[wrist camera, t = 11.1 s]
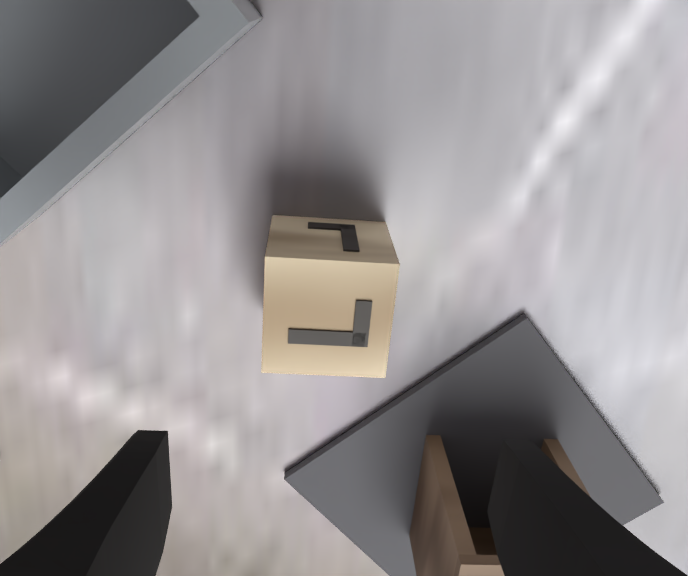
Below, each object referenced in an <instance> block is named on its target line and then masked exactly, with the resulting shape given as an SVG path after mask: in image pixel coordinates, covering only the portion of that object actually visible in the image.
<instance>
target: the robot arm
mask: <svg viewBox="0 0 688 576" xmlns="http://www.w3.org/2000/svg"><path fill="white" fill-rule="evenodd" d="M171 509H172V496H171V479H170V462H169V445H168V431H147V430H138V431H137V432H136V433H134V434H133V435H132V436H131V438H130V439H129V440H128V441H127V442H126V443H125V444H124V446H123V447H122V448H121V449H120V450H119V451H118V452H117V454H116V455H115V456H114V457H113V458H112V459H111V460H110V461H109V463H108V464H107V465H106V466H105V467H104V468H103V469H102V470H101V471H100V472H99V473H98V475H97V476H96V477H95V478H94V479H93V480H92V481H91V482H90V483H89V484H88V485H87V486H86V487H85V488H84V489H83V490H82V491H81V492H80V493H79V494H78V495H77V496H76V497H75V498H74V499H73V500H72V501H71V502H70V503H69V504H68V505H67V506H66V507H65V508H64V509H63V510H62V511H61V512H60V513H59V514H58V515H57V516H55V517H54V518H53V519H52V520H51V521H50V522H49V523H48V524H47V525H46V526H45V527H44V528H43V529H42V530H40V531H39V532H38V533H37V534H36V535H35V536H34V537H32V538H31V539H30V540H29V541H28V542H27V543H26V544H24V545H23V546H22V547H21V548H20V549H18V550H17V551H16V552H15V553H13V554H12V555H11V556H10V557H8V558H7V559H6V560H5V561H4V562H2V563H1V564H0V576H155V575H156V572H157V569H158V566H159V562H160V559H161V556H162V553H163V549H164V544H165V539H166V534H167V529H168V524H169V519H170V514H171ZM487 512H488V517H489V521H490V526H491V530H492V535H493V539H494V543H495V548H496V552H497V556H498V559H499V561H500V564H501V567H502V570H503V573H504V576H687V575H686V574H685V573H683V572H682V571H680V570H679V569H678V568H676V567H675V566H674V565H672V564H671V563H669V562H668V561H667V560H665V559H664V558H663V557H661V556H660V555H658V554H657V553H656V552H655V551H653V550H652V549H651V548H649V547H648V546H647V545H646V544H644V543H643V542H642V541H640V540H639V539H638V538H637V537H636V536H634V535H633V534H632V533H631V532H630V531H628V530H627V529H626V528H625V527H624V526H622V525H621V524H620V523H619V522H618V521H616V520H615V519H614V518H613V517H612V516H611V515H610V514H608V513H607V512H606V511H605V510H604V509H603V508H602V507H601V506H599V505H598V504H597V503H596V502H595V501H594V500H593V499H592V498H591V497H590V496H589V495H587V494H586V493H585V492H584V491H583V490H582V489H581V488H580V487H579V486H578V485H577V484H576V483H575V482H574V481H573V480H572V479H570V478H569V477H568V476H567V475H566V474H565V473H564V472H563V471H562V470H561V469H560V468H559V467H558V466H557V465H556V464H555V463H554V462H553V461H552V460H551V459H550V458H549V457H548V456H547V455H546V454H545V453H544V452H543V451H541V450H540V449H539V448H538V447H537V446H536V445H535V444H534V443H533V442H532V441H531V440H509V439H503V441H502V445H501V450H500V455H499V459H498V464H497V468H496V473H495V478H494V482H493V487H492V491H491V496H490V501H489V505H488V510H487Z"/></svg>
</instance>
